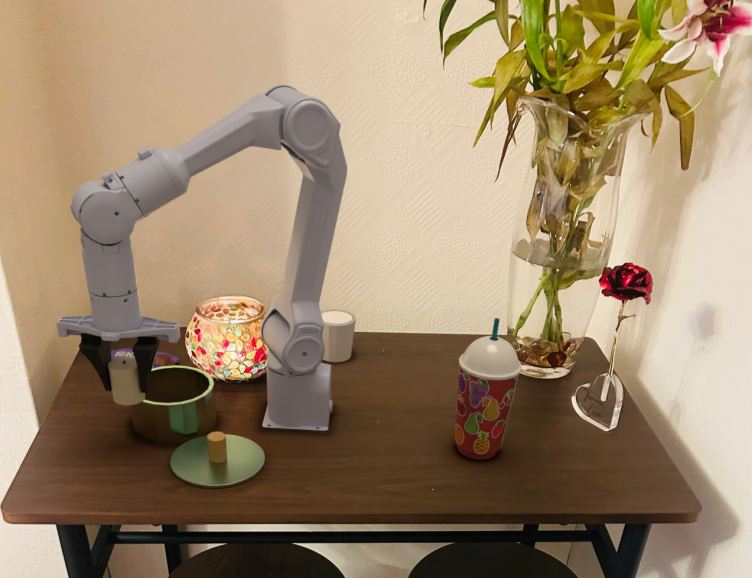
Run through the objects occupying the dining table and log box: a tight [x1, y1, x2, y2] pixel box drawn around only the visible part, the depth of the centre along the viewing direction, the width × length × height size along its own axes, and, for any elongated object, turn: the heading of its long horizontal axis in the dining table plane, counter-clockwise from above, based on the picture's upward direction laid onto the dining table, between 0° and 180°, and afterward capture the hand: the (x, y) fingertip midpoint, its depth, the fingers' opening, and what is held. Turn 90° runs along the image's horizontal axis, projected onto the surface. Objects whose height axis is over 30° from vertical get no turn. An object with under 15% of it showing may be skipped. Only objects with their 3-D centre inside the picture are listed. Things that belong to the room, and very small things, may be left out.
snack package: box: [111, 348, 180, 369], centre depth 125 cm, size 12×2×5 cm
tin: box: [129, 365, 218, 443], centre depth 110 cm, size 12×12×6 cm
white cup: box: [320, 309, 357, 363], centre depth 131 cm, size 7×7×7 cm
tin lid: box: [169, 431, 266, 489], centre depth 102 cm, size 12×12×5 cm
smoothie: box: [453, 317, 523, 461], centre depth 105 cm, size 8×8×20 cm
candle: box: [108, 357, 145, 406], centre depth 100 cm, size 4×4×5 cm
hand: (127, 388), depth 100 cm, fingers closed on candle, 4 cm apart
